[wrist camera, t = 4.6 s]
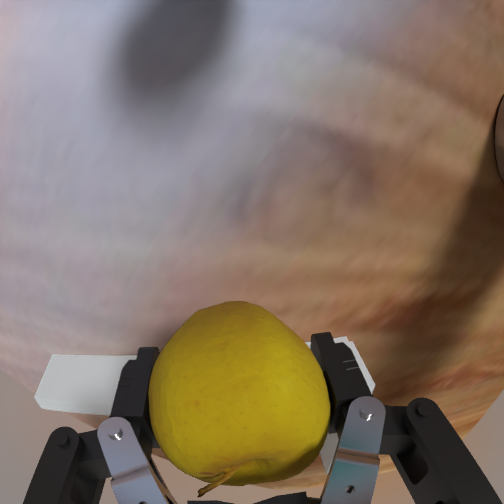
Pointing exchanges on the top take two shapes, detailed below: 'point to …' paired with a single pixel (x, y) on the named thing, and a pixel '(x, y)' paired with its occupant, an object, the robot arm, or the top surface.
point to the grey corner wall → (106, 383)
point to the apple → (238, 398)
